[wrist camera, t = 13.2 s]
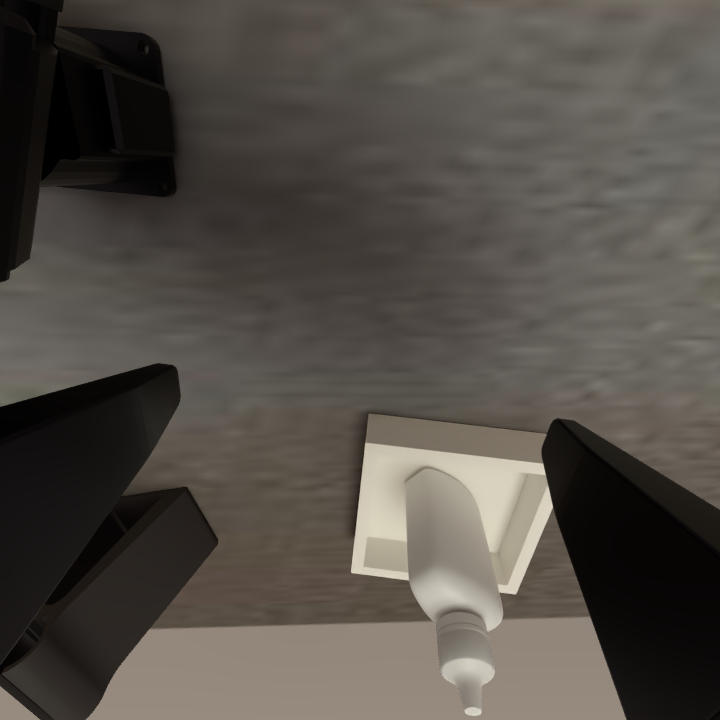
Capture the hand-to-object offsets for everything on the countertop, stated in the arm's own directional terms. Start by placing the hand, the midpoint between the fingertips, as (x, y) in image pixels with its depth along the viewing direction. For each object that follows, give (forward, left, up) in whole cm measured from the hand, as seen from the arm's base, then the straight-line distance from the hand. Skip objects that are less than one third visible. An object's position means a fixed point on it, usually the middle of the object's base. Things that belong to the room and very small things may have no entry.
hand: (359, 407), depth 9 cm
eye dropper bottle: (+6, -15, -13) cm, 20 cm away
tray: (+6, -15, -13) cm, 21 cm away
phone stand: (-16, -22, -13) cm, 30 cm away
